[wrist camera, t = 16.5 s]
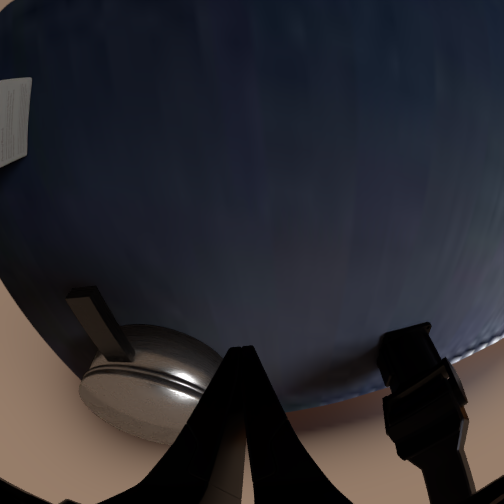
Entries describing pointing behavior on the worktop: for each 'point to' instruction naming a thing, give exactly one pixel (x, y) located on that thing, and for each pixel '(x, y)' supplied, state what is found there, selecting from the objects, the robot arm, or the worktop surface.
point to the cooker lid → (139, 403)
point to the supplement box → (14, 118)
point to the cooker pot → (142, 345)
